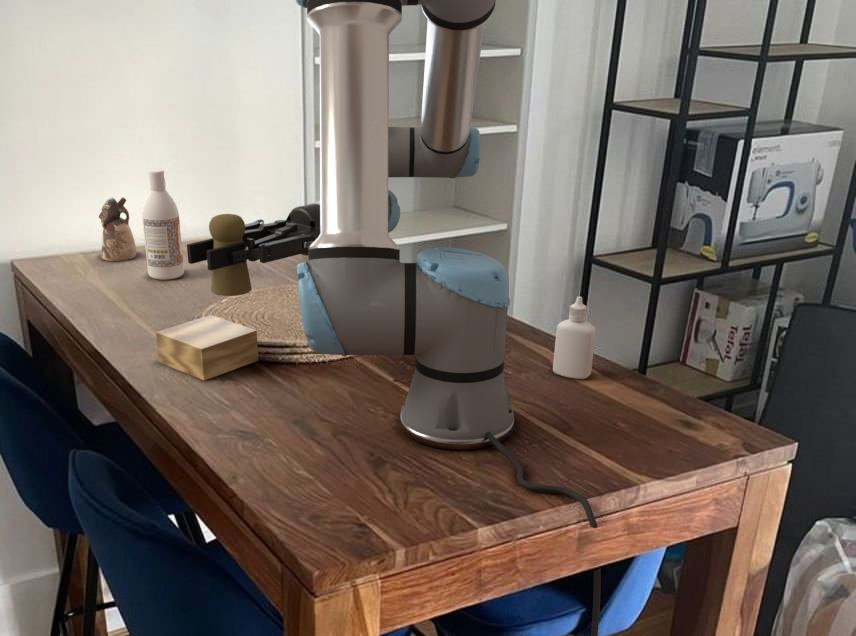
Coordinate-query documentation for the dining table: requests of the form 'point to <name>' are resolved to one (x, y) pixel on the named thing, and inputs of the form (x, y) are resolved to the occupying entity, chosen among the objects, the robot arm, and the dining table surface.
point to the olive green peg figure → (234, 276)
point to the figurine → (116, 232)
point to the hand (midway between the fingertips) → (199, 257)
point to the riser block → (207, 347)
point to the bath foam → (162, 230)
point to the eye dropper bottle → (574, 344)
